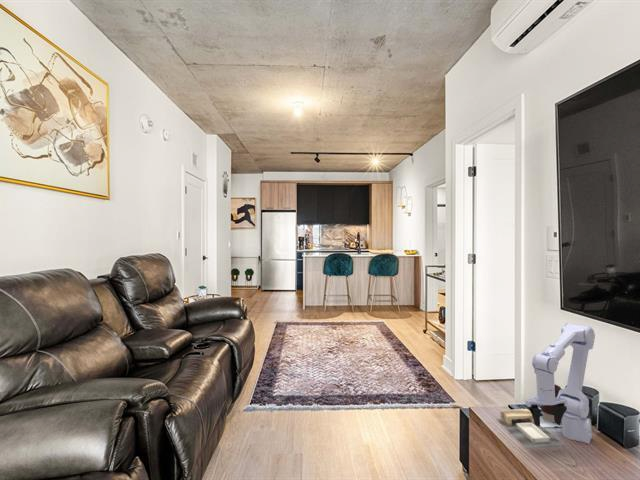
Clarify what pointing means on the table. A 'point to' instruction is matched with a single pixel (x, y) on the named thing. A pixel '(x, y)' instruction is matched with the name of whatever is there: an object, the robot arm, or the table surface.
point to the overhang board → (524, 416)
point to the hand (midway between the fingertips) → (547, 424)
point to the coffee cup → (550, 408)
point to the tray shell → (533, 433)
